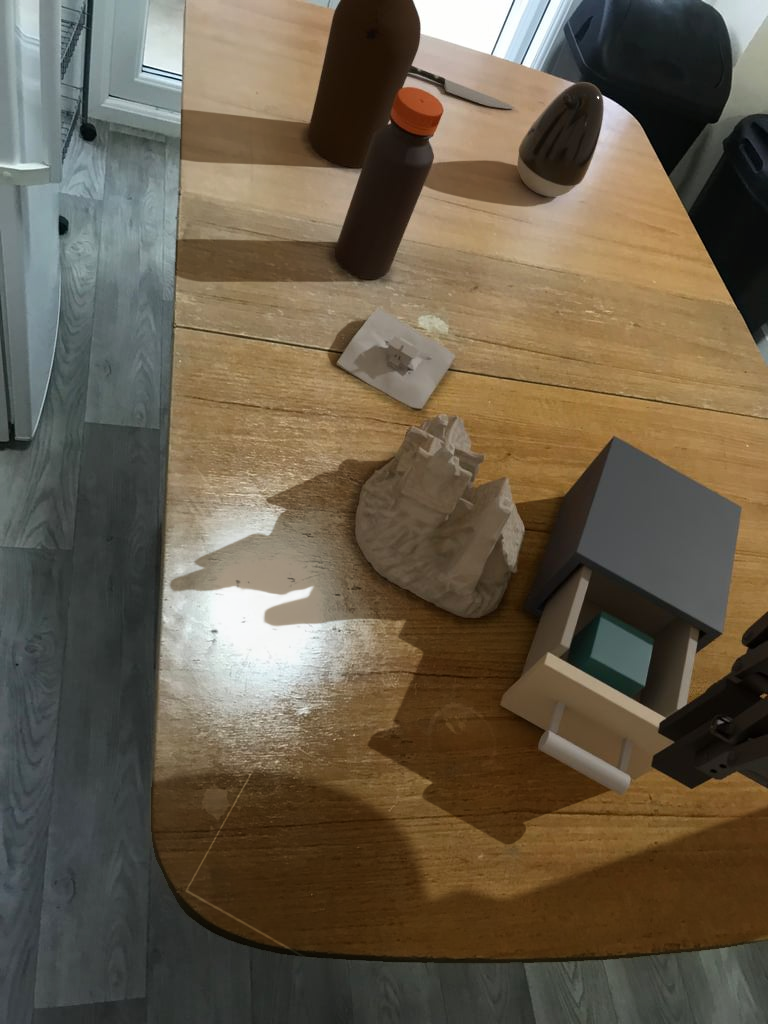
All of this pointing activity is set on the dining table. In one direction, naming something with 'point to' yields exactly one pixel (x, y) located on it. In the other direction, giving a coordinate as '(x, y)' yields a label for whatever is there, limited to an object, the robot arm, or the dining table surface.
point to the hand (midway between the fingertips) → (675, 754)
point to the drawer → (592, 704)
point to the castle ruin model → (440, 522)
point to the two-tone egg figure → (562, 141)
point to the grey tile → (396, 359)
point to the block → (612, 653)
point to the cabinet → (645, 537)
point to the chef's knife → (462, 90)
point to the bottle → (389, 185)
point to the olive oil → (362, 75)
